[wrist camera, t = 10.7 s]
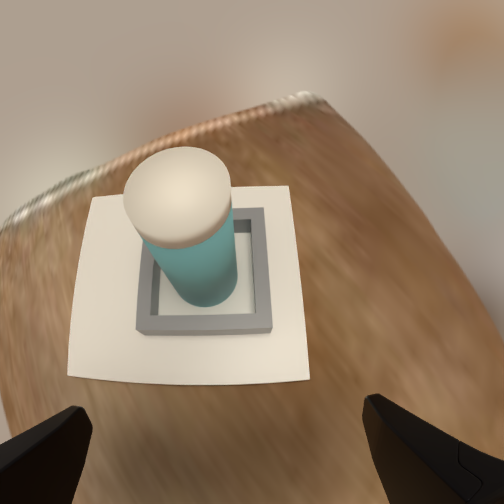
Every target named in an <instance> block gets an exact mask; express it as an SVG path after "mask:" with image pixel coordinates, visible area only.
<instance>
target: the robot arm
mask: <svg viewBox="0 0 504 504" xmlns="http://www.w3.org/2000/svg"><path fill="white" fill-rule="evenodd" d="M362 419H363V424H364V428H365V432H366V436H367V439H368V443H369V447H370V451H371V455H372V459H373V462H374V465H375V467H376V470H377V472H378V475H379V477H380V480H381V483H382V485H383V488H384V490H385V493H386V495H387V498H388V500H389V503H390V504H504V461H503V460H501V459H498V458H495V457H493V456H490V455H488V454H486V453H483V452H481V451H479V450H477V449H475V448H473V447H471V446H469V445H467V444H465V443H463V442H462V441H459V440H458V439H456V438H454V437H452V436H450V435H449V434H447V433H445V432H443V431H442V430H440V429H438V428H436V427H435V426H433V425H431V424H429V423H428V422H426V421H424V420H422V419H421V418H419V417H417V416H415V415H414V414H412V413H410V412H409V411H407V410H405V409H404V408H402V407H400V406H399V405H397V404H395V403H394V402H392V401H390V400H389V399H387V398H385V397H384V396H382V395H380V394H372V395H368V396H366V397H365V400H364V407H363V414H362ZM92 430H93V427H92V423H91V421H90V419H89V417H88V415H87V413H86V411H85V409H84V408H83V407H81V406H70V407H69V408H67V409H65V410H63V411H61V412H60V413H58V414H56V415H54V416H52V417H51V418H49V419H47V420H45V421H43V422H42V423H40V424H38V425H36V426H34V427H32V428H31V429H29V430H27V431H25V432H23V433H21V434H19V435H17V436H16V437H14V438H12V439H10V440H8V441H6V442H4V443H2V444H0V504H72V501H73V498H74V495H75V492H76V488H77V485H78V482H79V479H80V476H81V474H82V471H83V467H84V464H85V460H86V456H87V452H88V447H89V443H90V439H91V435H92Z"/></svg>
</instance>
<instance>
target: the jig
mask: <svg viewBox="0 0 504 504" xmlns="http://www.w3.org/2000/svg"><path fill="white" fill-rule="evenodd" d="M231 197H232V211H233V224H234V237H235V249H236V261H237V273H238V278H237V284H236V287H235V289H234V291H233V292H232V294H231V295H230V296H229V297H228V298H227V299H226V300H225V301H223V302H222V303H220V304H218V305H215V306H212V307H197V306H194V305H191V304H189V303H187V302H186V301H185V300H183V299H182V298H181V297H180V295H179V294H178V293H177V291H176V290H175V288H174V287H173V285H172V284H171V282H170V281H169V279H168V278H167V277H166V275H165V274H164V272H163V271H162V269H161V268H160V266H159V265H158V263H157V262H156V260H155V259H154V257H153V255H152V254H151V252H150V251H149V249H148V248H147V246H146V245H145V243H144V242H143V240H142V238H141V237H140V235H139V234H138V232H137V230H136V229H135V227H134V226H133V224H132V222H131V221H130V219H129V217H128V216H127V214H126V211H125V209H124V204H123V194H122V195H112V196H102V197H93V199H92V202H91V206H90V211H89V215H88V219H87V224H86V228H85V233H84V238H83V243H82V248H81V253H80V259H79V264H78V270H77V277H76V283H75V290H74V298H73V306H72V315H71V325H70V337H69V352H68V376H74V377H81V378H90V379H98V380H108V381H119V382H131V383H146V384H168V385H240V384H262V383H277V382H290V381H301V380H309V379H310V375H309V363H308V351H307V340H306V329H305V318H304V308H303V299H302V289H301V280H300V271H299V263H298V254H297V246H296V238H295V230H294V223H293V215H292V208H291V201H290V194H289V187H288V186H257V187H231Z"/></svg>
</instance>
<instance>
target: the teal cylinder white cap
mask: <svg viewBox="0 0 504 504" xmlns="http://www.w3.org/2000/svg"><path fill="white" fill-rule="evenodd" d="M123 204H124V209H125V211H126V214H127V216H128V217H129V219H130V221H131V222H132V224H133V226H134V227H135V229H136V230H137V232H138V234H139V235H140V237H141V238H142V240H143V242H144V243H145V245H146V246H147V248H148V249H149V251H150V252H151V254H152V255H153V257H154V259H155V260H156V262H157V263H158V265H159V266H160V268H161V269H162V271H163V272H164V274H165V275H166V277H167V278H168V279H169V281H170V282H171V284H172V285H173V287H174V288H175V290H176V291H177V293H178V294H179V295H180V297H181V298H182V299H183V300H185V301H186V302H187V303H189V304H191V305H194V306H197V307H212V306H215V305H218V304H220V303H222V302H223V301H225V300H226V299H227V298H228V297H229V296H230V295H231V294H232V292H233V291H234V289H235V287H236V284H237V278H238V273H237V261H236V249H235V237H234V224H233V211H232V197H231V184H230V176H229V173H228V170H227V168H226V166H225V165H224V163H223V162H222V161H221V160H220V159H219V158H218V157H216V156H215V155H214V154H212V153H210V152H208V151H206V150H203V149H200V148H195V147H175V148H170V149H166V150H163V151H160V152H158V153H156V154H154V155H152V156H150V157H149V158H147V159H146V160H144V161H143V162H142V163H141V164H140V165H139V166H138V167H137V168H136V169H135V170H134V171H133V173H132V174H131V175H130V177H129V179H128V181H127V183H126V185H125V189H124V194H123Z"/></svg>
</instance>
